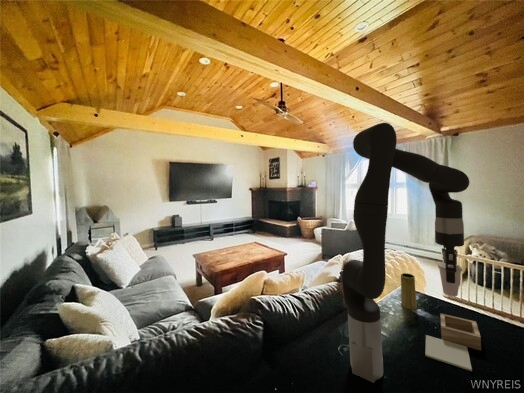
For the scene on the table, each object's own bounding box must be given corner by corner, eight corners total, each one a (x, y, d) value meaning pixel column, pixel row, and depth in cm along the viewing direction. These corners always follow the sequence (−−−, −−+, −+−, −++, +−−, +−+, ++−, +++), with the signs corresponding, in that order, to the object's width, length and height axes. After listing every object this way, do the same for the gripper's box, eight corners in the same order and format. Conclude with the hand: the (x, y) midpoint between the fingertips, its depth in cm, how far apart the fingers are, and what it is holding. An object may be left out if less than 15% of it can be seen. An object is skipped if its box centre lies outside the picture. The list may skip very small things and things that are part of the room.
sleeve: (481, 350, 72) (480, 337, 72) (441, 339, 78) (441, 327, 78) (476, 333, 80) (475, 321, 80) (440, 324, 86) (440, 313, 86)
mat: (471, 371, 65) (471, 369, 65) (425, 356, 71) (425, 354, 71) (467, 348, 73) (467, 346, 73) (426, 336, 80) (425, 334, 80)
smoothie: (467, 298, 72) (467, 256, 71) (445, 297, 73) (444, 255, 72) (454, 289, 78) (454, 250, 77) (434, 289, 79) (433, 250, 79)
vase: (416, 304, 101) (415, 273, 100) (417, 311, 96) (416, 279, 95) (401, 301, 104) (399, 272, 103) (401, 308, 99) (399, 276, 98)
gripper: (434, 226, 83) (435, 270, 83) (435, 233, 71) (436, 284, 72) (461, 227, 78) (462, 274, 79) (466, 235, 67) (467, 289, 67)
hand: (449, 278), depth 75 cm, fingers closed on smoothie, 6 cm apart
